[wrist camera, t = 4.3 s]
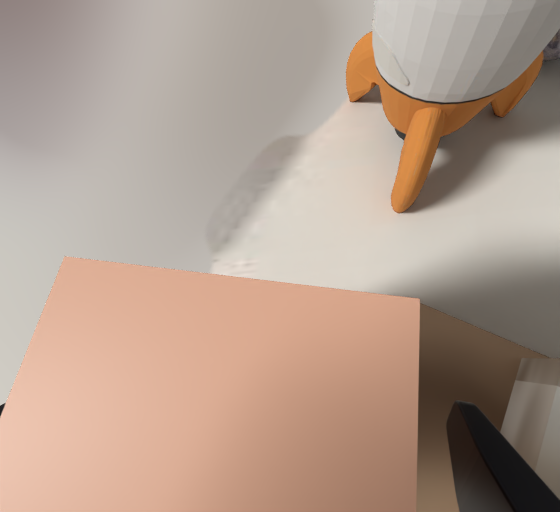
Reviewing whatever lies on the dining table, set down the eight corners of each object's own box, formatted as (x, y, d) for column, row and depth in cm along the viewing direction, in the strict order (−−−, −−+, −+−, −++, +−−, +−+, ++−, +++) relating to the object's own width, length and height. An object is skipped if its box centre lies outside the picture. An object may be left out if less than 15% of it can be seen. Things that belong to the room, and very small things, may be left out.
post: (343, 442, 14) (406, 1075, 2) (253, 421, 15) (-124, 724, 3) (351, 344, 15) (420, 298, 3) (268, 331, 16) (64, 256, 4)
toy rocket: (503, 95, 19) (1150, -551, 4) (459, 245, 18) (1072, 66, 4) (352, 60, 21) (466, -529, 6) (305, 199, 20) (294, -72, 5)
